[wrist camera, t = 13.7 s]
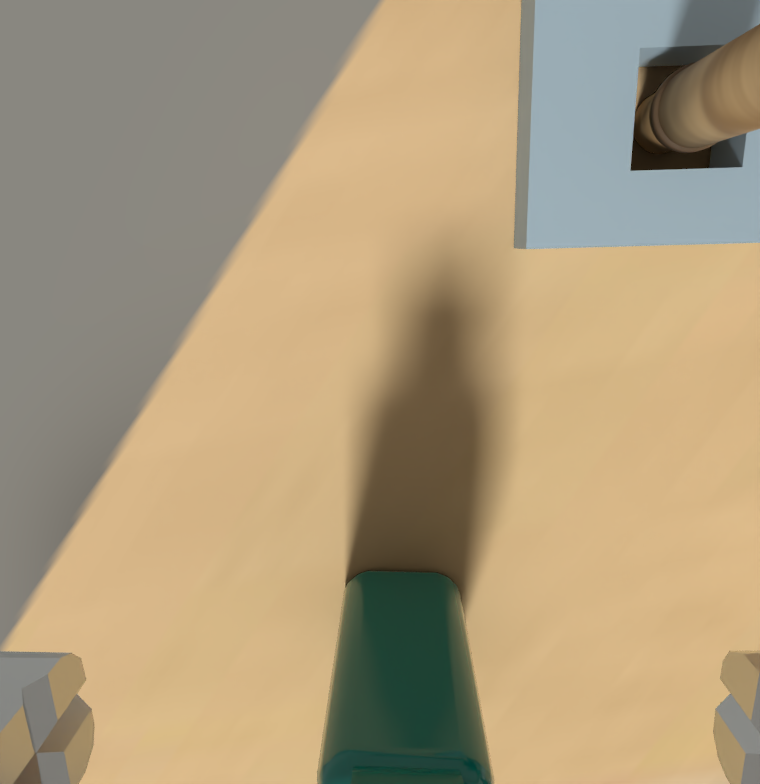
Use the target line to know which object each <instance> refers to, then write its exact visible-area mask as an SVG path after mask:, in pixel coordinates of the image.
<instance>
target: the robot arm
mask: <svg viewBox="0 0 760 784" xmlns="http://www.w3.org/2000/svg"><path fill="white" fill-rule="evenodd" d="M720 679H721V681H722V682H723V683H724V685H725V686H726V688H727V689H728V691H729V692H730V695H729V696H728V697H727V698H726V699H725V700H724V701H723V702H722V703H721V704H720V705H719V706H718V707H717V708H716V709H715V719H714V730H713V733H714V739H715V744H716V749H717V754H718V758H719V761H720V763H721V766H722V768H723V771H724V773H725V775H726V778H727V779H728V781H729V783H730V784H760V651H729V653H728V654H727V656H726V657H725V659H724V660H723V664H722V670H721V676H720ZM85 681H86V677H85V673H84V669H83V664H82V660H81V658H80V657H78V656H76V655H74V654H72V653H50V652H3V651H0V784H79V782H80V780H81V779H82V777H83V775H84V773H85V771H86V768H87V765H88V761H89V758H90V755H91V751H92V748H93V742H94V720H93V714H92V709H91V708H90V707H89V706H88V705H87V704H86V703H85V702H84V701H83V700H82V699H81V698H80V697H79V696H78V695H77V694H78V692H79V690H80V689H81V687H82V686H83V684H84V683H85Z"/></svg>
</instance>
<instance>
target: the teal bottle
mask: <svg viewBox="0 0 760 784" xmlns="http://www.w3.org/2000/svg"><path fill="white" fill-rule="evenodd" d="M317 784H494V775H493V770H492V764H491V759H490V753H489V748H488V742H487V737H486V732H485V726H484V721H483V715H482V710H481V704H480V699H479V693H478V688H477V682H476V677H475V671H474V666H473V660H472V655H471V650H470V644H469V639H468V633H467V628H466V622H465V617H464V611H463V606H462V600H461V595H460V592H459V590H458V588H457V585H456V584H455V583H454V582H453V581H451V580H450V579H449V578H448V577H447V576H445V575H442V574H440V573H437V572H399V571H366V572H363V573H360V574H358V575H356V576H355V577H354V578H353V579H352V580H351V581H350V582H348V584H347V586H346V589H345V591H344V595H343V602H342V609H341V615H340V622H339V629H338V636H337V642H336V649H335V656H334V663H333V669H332V676H331V683H330V690H329V696H328V703H327V710H326V717H325V723H324V730H323V737H322V744H321V750H320V757H319V764H318V770H317Z"/></svg>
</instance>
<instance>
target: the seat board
mask: <svg viewBox="0 0 760 784" xmlns="http://www.w3.org/2000/svg"><path fill="white" fill-rule="evenodd" d="M759 24H760V0H522V4H521V36H520V69H519V101H518V133H517V166H516V198H515V231H514V248H517V249H544V248H581V247H617V246H653V245H690V244H726V243H760V129H758V130H754V131H751V132H748V133H745V134H742V135H738V136H735V137H732V138H729V139H726V140H722V141H719V142H717V143H716V144H714V145H713V146H711V155H710V164H709V168H703V169H671V170H640V171H630V170H631V157H632V144H633V131H634V118H635V106H636V93H637V80H638V67H648V66H675V65H687V64H690V63H693V62H697V61H699V60H700V59H702V58H704V57H705V56H707V55H709V54H710V53H712V52H714V51H715V50H717V49H719V48H720V47H722V46H724V45H725V44H727V43H729V42H730V41H732V40H734V39H735V38H737V37H739V36H740V35H742V34H744V33H745V32H747V31H749V30H750V29H752V28H754V27H755V26H757V25H759Z"/></svg>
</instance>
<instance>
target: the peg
mask: <svg viewBox="0 0 760 784" xmlns="http://www.w3.org/2000/svg"><path fill="white" fill-rule="evenodd" d="M758 129H760V24H759V25H757V26H755V27H754V28H752V29H750V30H749V31H747V32H745V33H744V34H742V35H740V36H739V37H737V38H735V39H734V40H732V41H730V42H729V43H727V44H725V45H724V46H722V47H720V48H719V49H717V50H715V51H714V52H712V53H710V54H709V55H707V56H705V57H704V58H702V59H700V60H699V61H697V62H693V63H690V64H687V65H685V66H683V67H681V68H680V69H678V70H676V71H675V72H673V73H672V74H671V75H669V76H668V77H667V78H666V79H665V80H664V81H663V82H662V84H661V85H660V86H659V88H658V90H657V91H656V93H654V94H652V95H651V96H649V97H648V98H646V99H645V100H644V101H643V102H642V103H641V104H640V106H639V107H638V109H637V111H636V113H635V118H634V131H633V133H634V137H635V139H636V141H637V143H638V144H639V145H640V146H641V147H642V148H643V149H644V150H646V151H648V152H651V153H655V154H661V153H666V152H670V151H676V152H681V153H691V152H696V151H700V150H703V149H706V148H709V147H711V146H713V145H714V144H716V143H717V142H719V141H722V140H726V139H729V138H732V137H735V136H738V135H742V134H745V133H748V132H751V131H754V130H758Z"/></svg>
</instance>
